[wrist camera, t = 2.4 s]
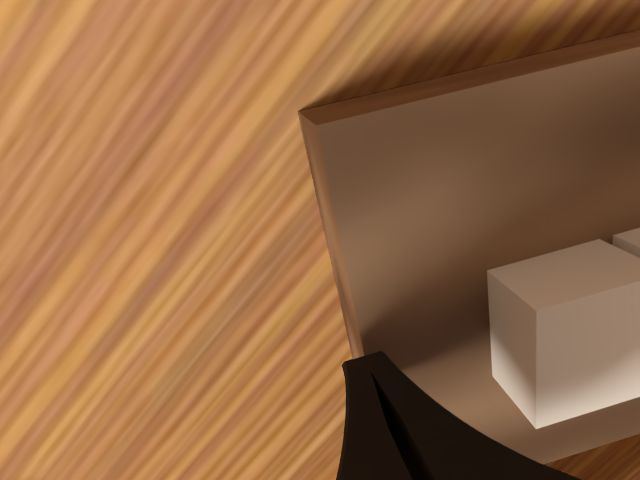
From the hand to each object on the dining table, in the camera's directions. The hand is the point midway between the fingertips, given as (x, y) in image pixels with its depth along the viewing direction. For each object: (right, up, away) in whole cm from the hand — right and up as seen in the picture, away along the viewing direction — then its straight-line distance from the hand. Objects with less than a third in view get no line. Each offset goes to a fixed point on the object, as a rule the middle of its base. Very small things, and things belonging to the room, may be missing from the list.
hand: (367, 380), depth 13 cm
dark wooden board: (+6, +4, +5) cm, 9 cm away
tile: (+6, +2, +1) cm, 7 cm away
